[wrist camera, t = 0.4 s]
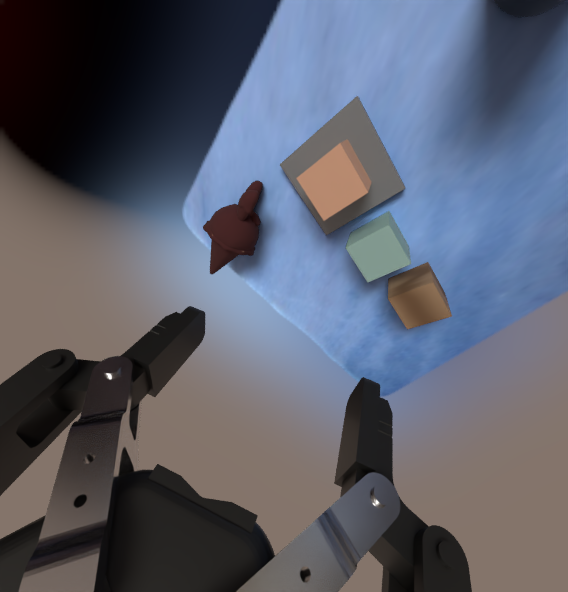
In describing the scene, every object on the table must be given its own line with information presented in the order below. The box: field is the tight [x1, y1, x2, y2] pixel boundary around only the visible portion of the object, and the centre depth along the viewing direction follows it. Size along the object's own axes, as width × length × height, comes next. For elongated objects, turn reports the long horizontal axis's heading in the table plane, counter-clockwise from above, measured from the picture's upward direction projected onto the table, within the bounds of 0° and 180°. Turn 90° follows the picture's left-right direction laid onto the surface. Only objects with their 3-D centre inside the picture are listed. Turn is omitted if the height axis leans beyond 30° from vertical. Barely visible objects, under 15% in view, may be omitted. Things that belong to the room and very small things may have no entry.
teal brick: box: [346, 211, 411, 282], centre depth 30 cm, size 5×5×5 cm
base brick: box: [296, 139, 371, 221], centre depth 27 cm, size 5×5×5 cm
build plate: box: [280, 96, 405, 235], centre depth 29 cm, size 10×10×1 cm
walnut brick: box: [388, 262, 452, 329], centre depth 32 cm, size 5×5×5 cm
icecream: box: [203, 181, 263, 274], centre depth 35 cm, size 7×7×15 cm
